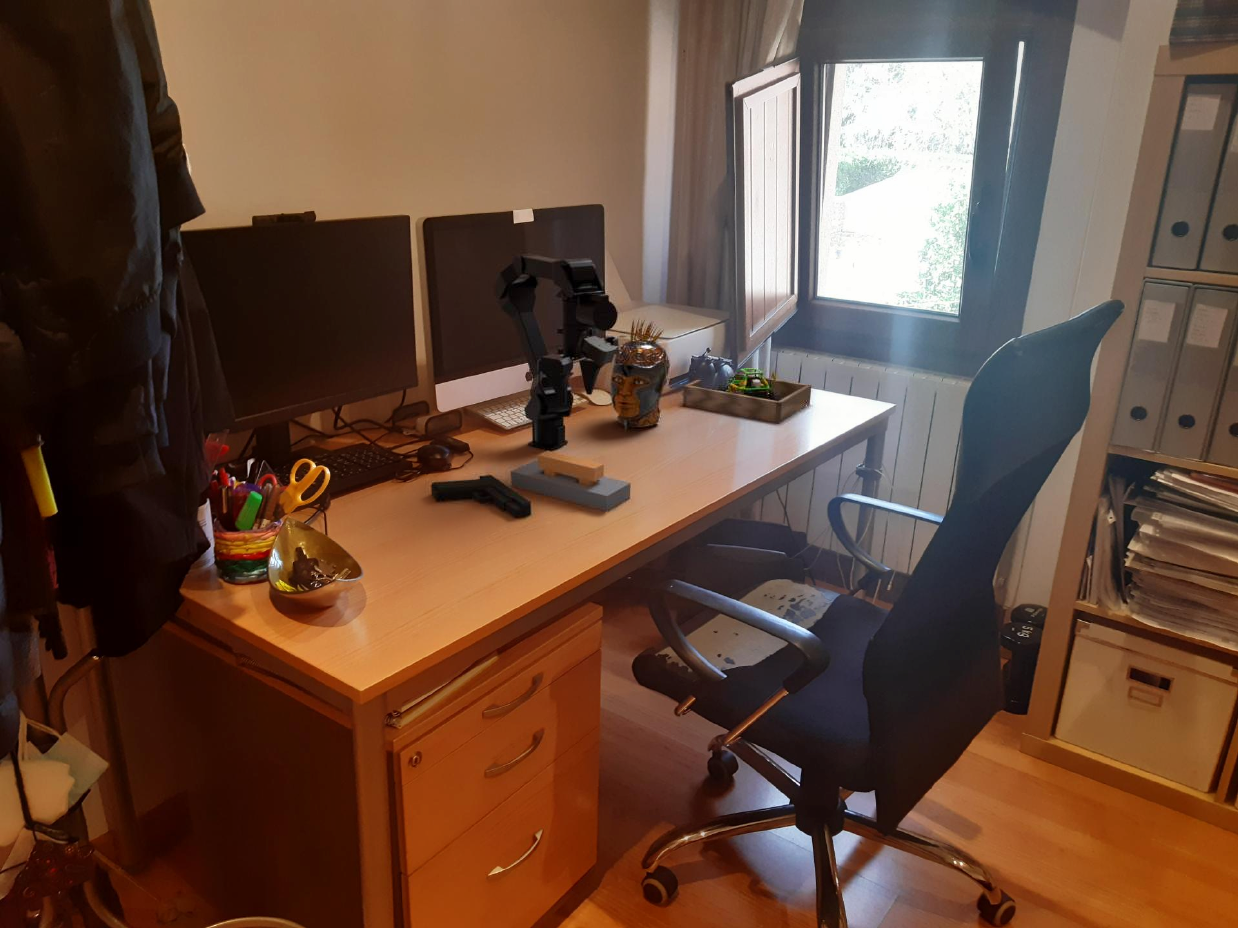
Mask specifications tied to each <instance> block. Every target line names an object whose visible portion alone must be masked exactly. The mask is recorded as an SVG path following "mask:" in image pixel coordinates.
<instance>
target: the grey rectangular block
mask: <svg viewBox="0 0 1238 928" xmlns="http://www.w3.org/2000/svg"><path fill="white" fill-rule="evenodd" d="M510 486H511V487H514V488H518V489H520V490H521V489H522V490H525V491H529V492H533V493H536V494H541V495H544V496H548V497H552V498H556V499H559V500H563V501H566V502H570V503H573V504H578V505H582V506H585V507H589V508H592V509H595V510H599V511H602V512H603V511H604V512H608V511H610V510H612V509H614V508H616V507H617V506H619V505H621V504H622V503H624V502H626V501H627V500H628V499H631V482H628V481H624V480H620V479H617V478H616V479H615V478H612V477H607V476H604V477H602V478H600V479H599V480H597V483H595V484H593V485H592V486H587V485H583V484H579V478H578V477H575V476H571V475H567V474H563V473H562V474H561V475H559V476H557V477H551V476H548V475H544V469H543V468H539V467H538V459H535V460H532V461H531V462H529V463H526V464H524V465H521V466H519V467H517V468H515V469H513V470H510Z"/></svg>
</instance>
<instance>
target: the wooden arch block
mask: <svg viewBox="0 0 1238 928" xmlns="http://www.w3.org/2000/svg"><path fill="white" fill-rule="evenodd" d="M537 460H538V467H539V468H543V469H544V475H548V476H551V477H557V476H559V475H561V474H562V473H563V474H567V475H571V476H575V477H578V478H579V484H583V485H587V486H592V485H593V484H595V483H597V480H599V479H600V478H602V477H605V474H604V470H605V467H604V463H601V462H596V461H592V460H587V459H583V458H579V457H576V456H571V455H567V454H563V453H560V452H559V453H558V452H554V451H551V450H546V451H544V452H542V453H539V454H538V455H537Z"/></svg>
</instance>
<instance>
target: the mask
mask: <svg viewBox="0 0 1238 928" xmlns="http://www.w3.org/2000/svg"><path fill="white" fill-rule="evenodd" d="M640 321H641V322H640ZM645 321H646V318H644V320H642V319H641V320H640V317H639V318H638V321H637V323H636V321H635V319H634V318H633V319H632V323H631V328H630V329H631V331H630V340H629V341H627V342H625V343H621V345H620V346H619V348H618V350H619V353H618V354H615V355H614V359H613V360H614V362H613V367H612V371H611V378H610V382H609V383H610V384H609V385H610V386H609V389H610V399H611V404H612V407H613V408H614V410H615V412H616V413H617V416H616V417H617V420H618V421H619V423H620V424H622V425H624V431H625V432H624V433H626V432H627V429H628V428H630V427H631V428H642V427H649V426H653V425H656V424H658V423H659V422H660V421H661V419H662V413H661V406H659V405H660V400H661V397H662V395H663V391H664V388H665V386H666V384H667V383H668V377H669V376H668V375H669V374H670V372H669V371H670V366H671V364H670V358H669V354H668V353H667V351H666V350H665V348H663V347H662V345H659V344H657V343H658V342H659V340H658V339H659V338H660V336H661V335H662V333H664V332H665V330H661V329H659V330H658V331H657V332H656V330H657V328H658V327H659V325H658V326H657V327H656V324H657V323H656V324H655V325H654V321H650V322H649V323H646V324H645V327H644V323H645ZM635 323H636V324H635ZM653 325H654V326H653ZM643 327H644V330H643ZM655 327H656V328H655ZM635 328H636V329H635ZM654 328H655V329H654ZM655 332H656V334H655ZM654 334H655V335H654Z"/></svg>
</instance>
